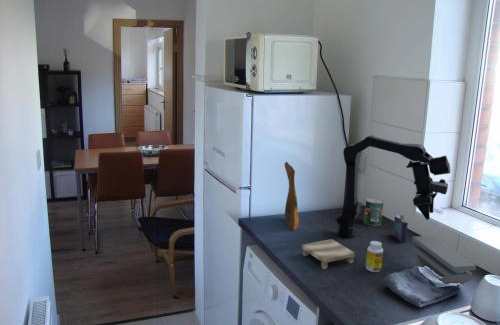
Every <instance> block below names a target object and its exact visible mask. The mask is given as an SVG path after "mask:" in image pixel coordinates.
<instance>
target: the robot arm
mask: <svg viewBox="0 0 500 325" xmlns="http://www.w3.org/2000/svg"><path fill="white" fill-rule="evenodd" d="M370 147H372V148H374V149H379V150H382V151H387V152H391V153H394V154H399V155H400V156H403V158H405V159H408V160H410V161H409V162H408V164H407V165H406V167H405V168H406V169H409V168H411V170H412V173H413V174H412V175H413V179H414V181H413V185H415V189H416V192H415V194H416V195H415V196H414V197H413V199H412V202H413V205H414V206H415V207H416V208H417V209H418V211H420V213H421V214H422V215H423V217H424V218H425V220H426V221H427V220H430V218H431V216H430V214H433V213H434V203H435V202H434V201H435V198H436V196H437V195H438V193H439V194H441V195H446V194H447V192H448V187H449V184H448V182H446V179H443V178H441V179H440V180H438V181H437V180H436V181H434V179H433V178H432V177H431V174H432V175H433V176H439V175H440V176H441V175H448V174H451V165H450V162H449V159H448V157H447V156H448V155H442V156H437V157H433V156H432V155H431V154H429V153H428V151H426V148H425V146H424V145H422V144H420V143H401V142H397V141H394V140H393V141H392V140H390V139H386V138H385V139H384V138H380V137H377V136H375V135H368V136H366V137H365V138H363V139H362V140H360V141H359V142H357V143H352V144H351V143H350V144H349V145H346V146H345V147H344V148H343V151H342V153H343V159H344V163H345V166H346V181H345V183H346V184H345V186H346V188H345V189H346V192H345V201H344V204H343V208H342V213H341V214H340V215H339V216H338V217H336V223H337V229H336V231H334V234H335V235H336V236H338V237H340V238H341V239H349V238H355V237H356V235H355V234H354V222H353V221H354V220H356V218H357V217H359V215H360V213H361V212H362V208H361V207H362V202H360V201H359V200H358V166H359V162H360V159H361V157H362V152H363V151H364V150H366V149H368V148H370Z"/></svg>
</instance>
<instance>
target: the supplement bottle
mask: <svg viewBox="0 0 500 325" xmlns="http://www.w3.org/2000/svg"><path fill="white" fill-rule="evenodd" d="M382 247H383V246H382V242H380V241H377V240H372V241H370V243H369V246H368V247H367V248H366V249H367V250H366V257H365V258H366V260H365V269H366V270H367V271H369V272H372V273H378V272H379V273H380V272H381V271H382V266H383V256H384V249H383V248H382Z"/></svg>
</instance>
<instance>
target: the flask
mask: <svg viewBox="0 0 500 325" xmlns="http://www.w3.org/2000/svg"><path fill="white" fill-rule="evenodd" d="M405 215H406V214H399V215H397V214H395V215H394V221H393V223H394V224H393V229H392V230H393V231H392V232H393V233H392V235H393V237H395V239H397V240H399V241H400V243H407V234H408V233H407V232H408V225H409V221H408V220H407V219H406V217H405Z"/></svg>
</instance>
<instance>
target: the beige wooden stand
mask: <svg viewBox="0 0 500 325" xmlns="http://www.w3.org/2000/svg"><path fill="white" fill-rule="evenodd" d="M301 246H302V247H301V248H302V255H303V256H304V257H308V256H309V254H310V255H311V256H312V257H314V258H315V259H317V260H319V262H320V261H321V262H320V268H321V269H323V270H327V269H328V265H329V264H328V263H331V262H335V261H341V260H347V263H348V264H354V260H355V258H354V257H355V256H356V253H355V251H352V250H351V249H349V248H347V247H346V246H344V245H343V244H341V243H339V242H337V241H336V240H334V239H332V238H331V239H326V240H325V239H324V240H319V241H314V242H310V243H309V242H308V243H304V244H302V245H301Z"/></svg>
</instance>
